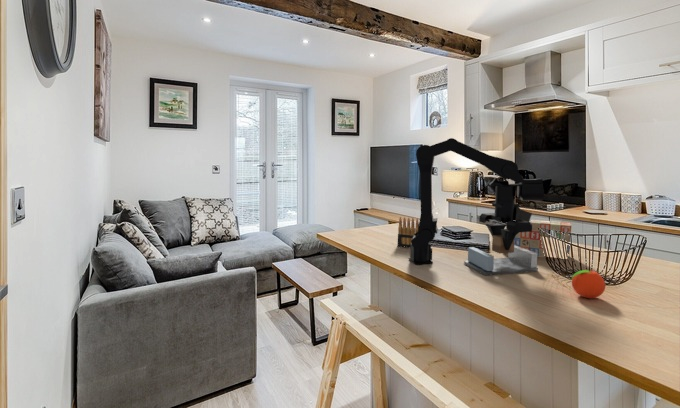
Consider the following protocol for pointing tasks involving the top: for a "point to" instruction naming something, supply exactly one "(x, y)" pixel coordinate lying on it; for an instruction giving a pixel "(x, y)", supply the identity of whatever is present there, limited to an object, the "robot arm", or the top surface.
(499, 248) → the walnut block
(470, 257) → the plate
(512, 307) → the top surface
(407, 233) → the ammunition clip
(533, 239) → the stack of blocks
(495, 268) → the vise base
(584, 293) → the clementine
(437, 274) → the top surface
